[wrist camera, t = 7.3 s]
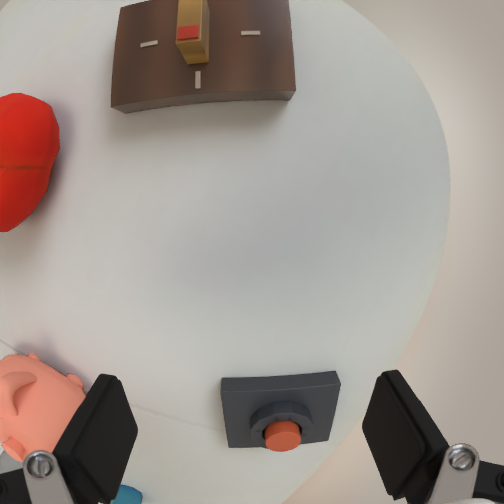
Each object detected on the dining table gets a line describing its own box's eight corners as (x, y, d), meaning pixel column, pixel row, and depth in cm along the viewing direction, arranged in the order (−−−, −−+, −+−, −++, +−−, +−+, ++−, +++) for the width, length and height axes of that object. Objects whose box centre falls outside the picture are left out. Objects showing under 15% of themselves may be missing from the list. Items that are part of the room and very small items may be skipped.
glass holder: (36, 462, 36) (14, 505, 22) (31, 473, 39) (12, 510, 25) (6, 438, 35) (-20, 478, 20) (5, 452, 38) (-17, 487, 23)
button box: (335, 370, 28) (345, 394, 24) (324, 428, 31) (331, 451, 27) (221, 377, 28) (219, 403, 24) (229, 435, 31) (228, 459, 27)
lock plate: (283, 6, 19) (287, -12, 16) (289, 100, 21) (296, 90, 18) (131, 20, 19) (119, 6, 16) (125, 113, 21) (109, 106, 18)
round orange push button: (300, 418, 26) (302, 430, 24) (297, 438, 27) (299, 450, 25) (264, 420, 26) (265, 433, 24) (264, 440, 26) (265, 452, 25)
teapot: (132, 420, 30) (100, 502, 17) (67, 435, 32) (36, 493, 19) (47, 321, 26) (-23, 388, 13) (0, 359, 28) (-48, 409, 15)
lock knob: (189, 13, 16) (179, -14, 12) (209, 11, 16) (203, -17, 12) (187, 64, 18) (174, 42, 14) (208, 62, 18) (200, 39, 14)
